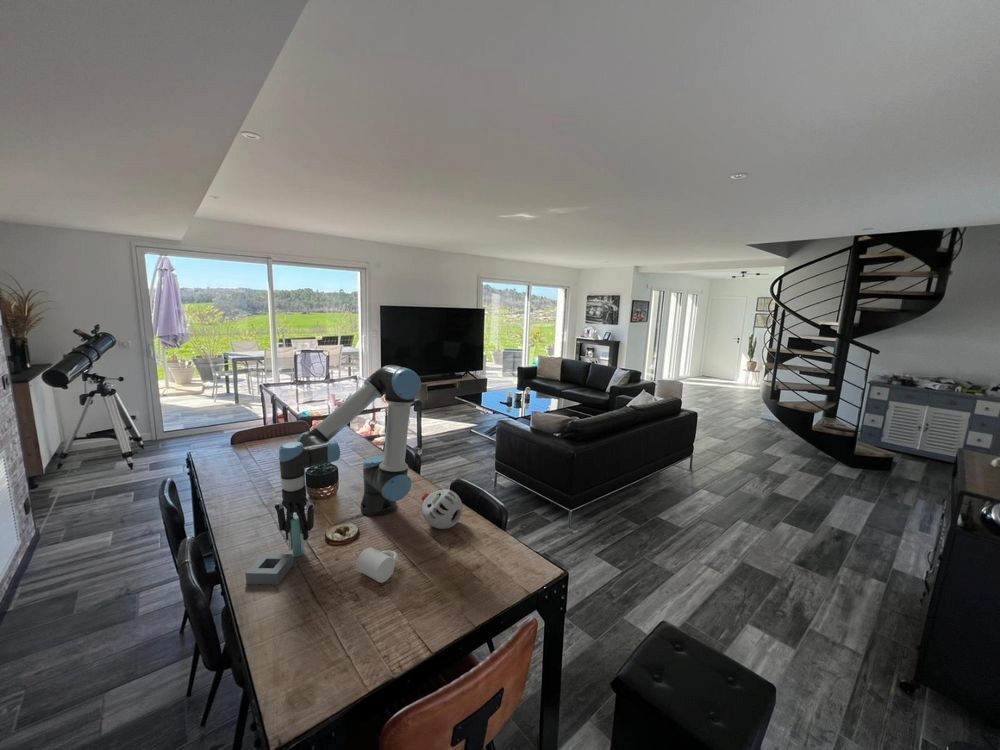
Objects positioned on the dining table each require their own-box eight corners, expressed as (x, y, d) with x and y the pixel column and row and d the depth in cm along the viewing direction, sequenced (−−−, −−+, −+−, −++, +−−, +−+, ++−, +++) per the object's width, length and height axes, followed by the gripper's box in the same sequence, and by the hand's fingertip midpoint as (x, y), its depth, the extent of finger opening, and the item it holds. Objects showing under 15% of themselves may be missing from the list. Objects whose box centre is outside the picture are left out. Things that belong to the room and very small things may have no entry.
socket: (293, 564, 139) (292, 554, 138) (277, 584, 129) (276, 573, 128) (264, 564, 139) (263, 553, 138) (246, 584, 129) (245, 573, 128)
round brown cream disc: (323, 528, 162) (323, 519, 161) (362, 523, 166) (362, 514, 165) (318, 550, 148) (318, 540, 147) (361, 544, 152) (361, 534, 151)
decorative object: (436, 509, 178) (436, 478, 175) (469, 523, 167) (469, 490, 164) (410, 524, 165) (409, 490, 162) (443, 541, 154) (443, 505, 152)
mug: (377, 587, 129) (376, 565, 127) (356, 576, 134) (355, 554, 132) (404, 567, 139) (403, 546, 137) (384, 557, 144) (383, 537, 142)
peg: (305, 551, 146) (303, 515, 144) (301, 557, 143) (298, 521, 140) (296, 550, 146) (293, 515, 144) (291, 557, 143) (288, 520, 140)
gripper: (322, 482, 144) (325, 541, 148) (275, 481, 144) (280, 541, 148) (312, 492, 136) (316, 554, 141) (263, 491, 136) (269, 553, 140)
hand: (298, 547), depth 144 cm, fingers closed on peg, 3 cm apart
